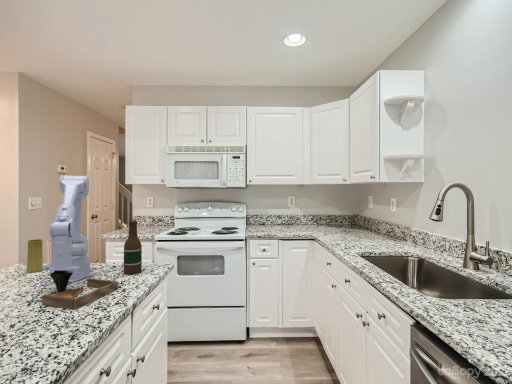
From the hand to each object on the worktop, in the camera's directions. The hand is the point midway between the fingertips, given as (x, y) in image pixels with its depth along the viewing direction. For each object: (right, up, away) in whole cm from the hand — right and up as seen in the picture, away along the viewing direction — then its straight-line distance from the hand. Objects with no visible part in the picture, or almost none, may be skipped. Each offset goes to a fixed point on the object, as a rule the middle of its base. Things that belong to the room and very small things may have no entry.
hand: (61, 291), depth 95 cm
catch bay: (+9, -1, -2) cm, 9 cm away
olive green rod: (-32, -1, +27) cm, 42 cm away
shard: (+3, -2, -2) cm, 3 cm away
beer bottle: (+14, -1, +25) cm, 29 cm away
